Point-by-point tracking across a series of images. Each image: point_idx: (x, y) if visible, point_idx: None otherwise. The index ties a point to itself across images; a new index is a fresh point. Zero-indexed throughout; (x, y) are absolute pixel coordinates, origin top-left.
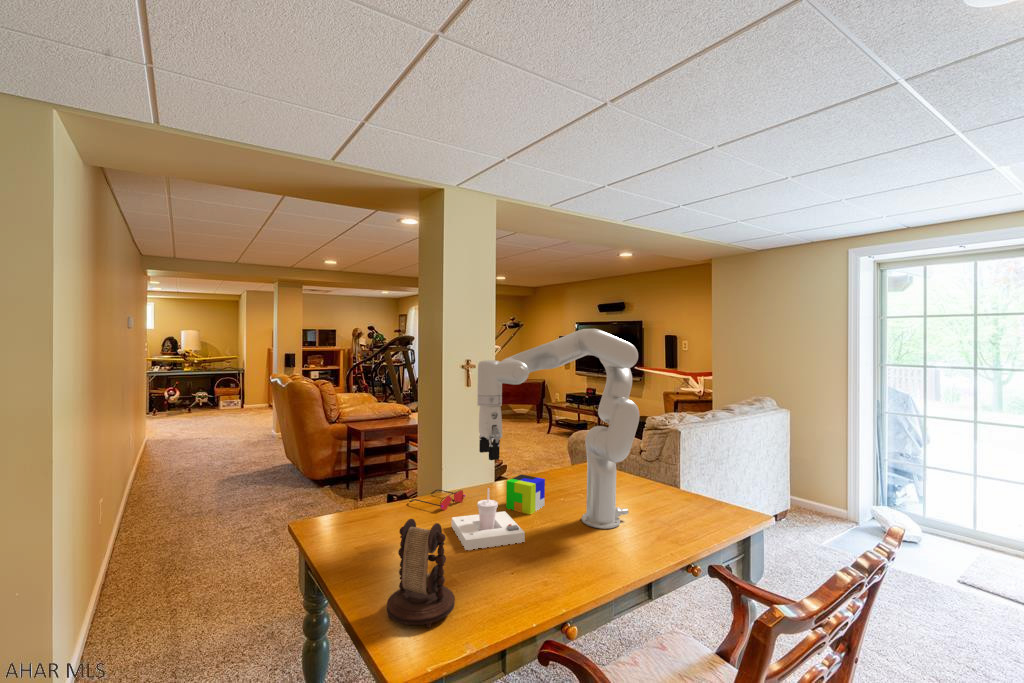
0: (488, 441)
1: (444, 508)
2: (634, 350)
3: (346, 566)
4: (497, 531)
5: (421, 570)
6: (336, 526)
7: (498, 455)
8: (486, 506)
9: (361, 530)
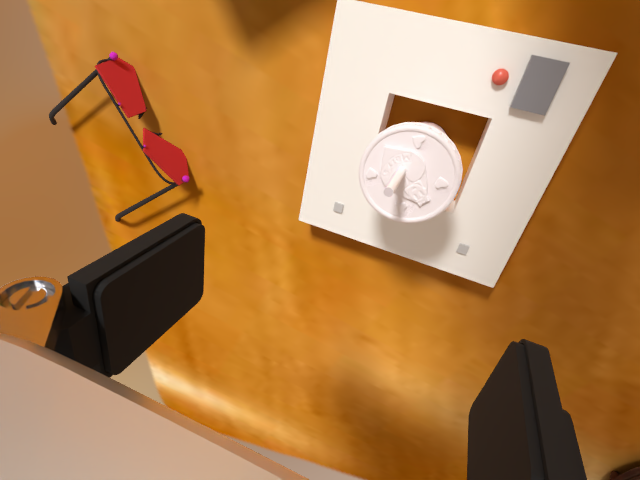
0: (116, 288)
1: (182, 160)
2: None
3: (386, 460)
4: (509, 158)
5: None
6: (204, 384)
7: (546, 385)
8: (444, 208)
9: (239, 367)
